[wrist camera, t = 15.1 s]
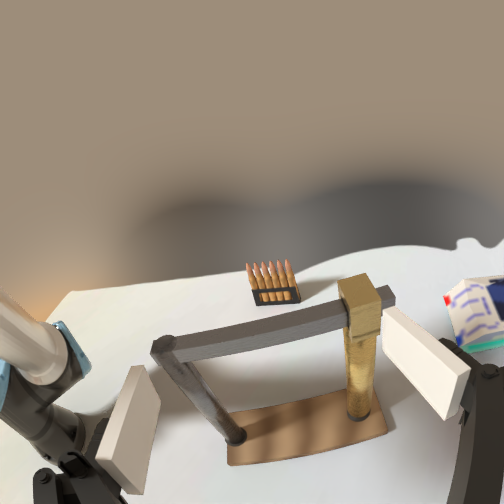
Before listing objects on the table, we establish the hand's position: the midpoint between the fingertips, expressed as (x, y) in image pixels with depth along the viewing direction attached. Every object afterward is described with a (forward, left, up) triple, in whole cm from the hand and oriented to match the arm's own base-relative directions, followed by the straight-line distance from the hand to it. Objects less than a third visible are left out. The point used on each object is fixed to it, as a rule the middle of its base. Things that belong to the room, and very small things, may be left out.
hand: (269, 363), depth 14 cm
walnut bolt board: (-8, +7, -34) cm, 35 cm away
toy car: (+24, +43, -34) cm, 60 cm away
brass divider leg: (-1, +13, -31) cm, 34 cm away
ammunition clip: (-30, +32, -34) cm, 55 cm away
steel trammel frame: (-8, +7, -32) cm, 34 cm away
